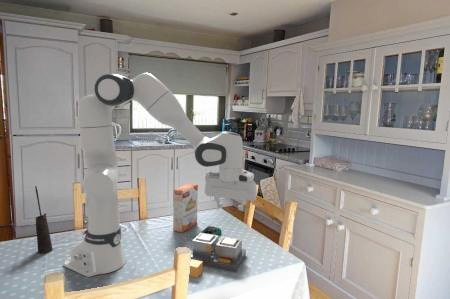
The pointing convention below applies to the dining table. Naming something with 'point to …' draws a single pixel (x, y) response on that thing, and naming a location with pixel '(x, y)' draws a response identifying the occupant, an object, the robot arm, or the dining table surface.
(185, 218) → the cracker box
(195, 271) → the orange cube
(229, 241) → the breaker tagged
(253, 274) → the dining table surface
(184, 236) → the dining table surface
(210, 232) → the digital multimeter
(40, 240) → the butter churn
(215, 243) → the twin switch block
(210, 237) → the breaker
